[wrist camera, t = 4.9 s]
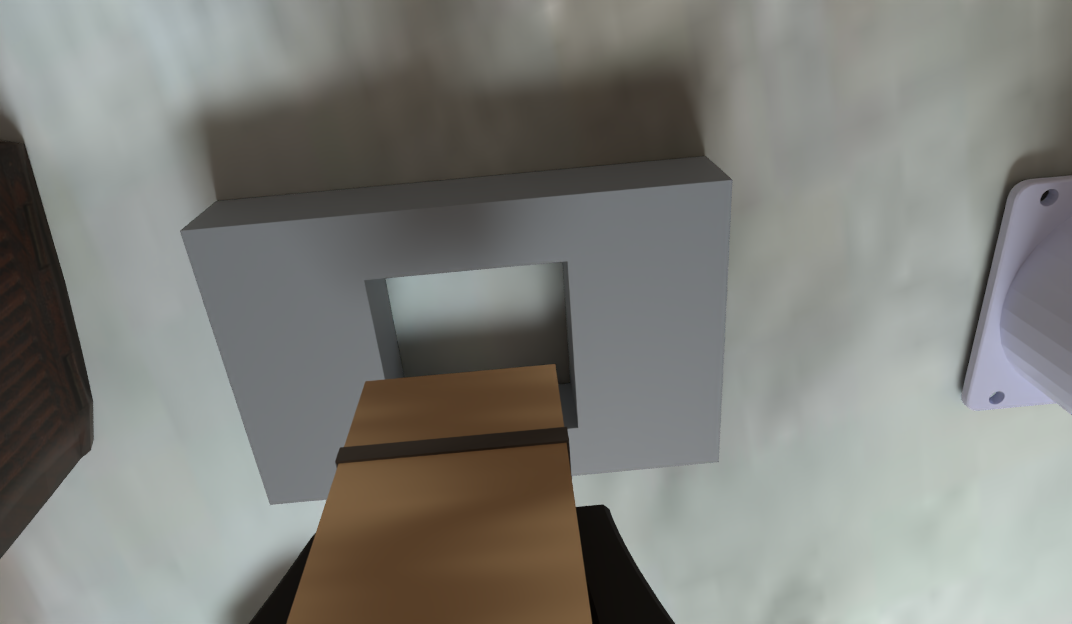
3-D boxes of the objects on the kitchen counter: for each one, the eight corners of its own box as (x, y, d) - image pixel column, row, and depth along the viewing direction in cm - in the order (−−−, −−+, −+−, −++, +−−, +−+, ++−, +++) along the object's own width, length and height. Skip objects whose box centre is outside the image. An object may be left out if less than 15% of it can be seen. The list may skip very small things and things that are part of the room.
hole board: (706, 155, 20) (732, 179, 17) (698, 415, 24) (718, 462, 21) (216, 201, 20) (180, 230, 17) (291, 454, 24) (270, 504, 21)
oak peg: (557, 361, 14) (614, 744, 7) (568, 510, 16) (622, 933, 9) (362, 379, 14) (227, 782, 7) (395, 526, 16) (313, 964, 9)
